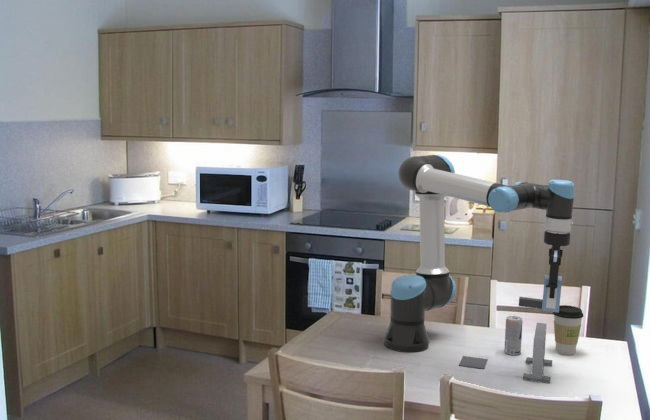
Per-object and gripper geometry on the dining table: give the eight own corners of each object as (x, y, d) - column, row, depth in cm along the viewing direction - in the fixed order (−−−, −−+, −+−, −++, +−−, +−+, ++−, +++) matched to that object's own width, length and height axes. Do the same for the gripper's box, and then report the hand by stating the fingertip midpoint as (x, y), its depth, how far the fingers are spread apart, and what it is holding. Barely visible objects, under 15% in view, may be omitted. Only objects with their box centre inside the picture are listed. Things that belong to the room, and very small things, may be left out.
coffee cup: (582, 357, 237) (586, 314, 234) (551, 355, 239) (554, 311, 236) (578, 348, 246) (581, 305, 244) (548, 345, 248) (551, 303, 246)
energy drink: (522, 351, 242) (523, 317, 240) (519, 356, 237) (521, 321, 235) (506, 349, 244) (507, 315, 242) (502, 353, 239) (504, 319, 238)
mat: (458, 365, 228) (458, 365, 228) (462, 356, 236) (462, 355, 236) (484, 369, 225) (484, 368, 225) (487, 359, 234) (487, 358, 234)
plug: (518, 307, 221) (520, 276, 219) (519, 302, 226) (521, 272, 225) (558, 312, 217) (561, 280, 216) (559, 307, 223) (562, 276, 221)
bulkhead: (522, 379, 217) (525, 338, 215) (526, 360, 234) (528, 321, 232) (550, 383, 214) (552, 341, 213) (552, 363, 231) (554, 324, 229)
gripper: (570, 238, 207) (563, 315, 211) (570, 227, 224) (563, 298, 228) (543, 235, 209) (537, 312, 213) (545, 224, 226) (539, 295, 230)
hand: (550, 304), depth 221 cm, fingers closed on plug, 5 cm apart
